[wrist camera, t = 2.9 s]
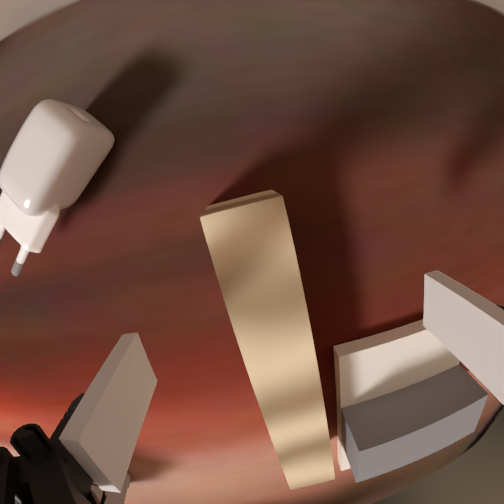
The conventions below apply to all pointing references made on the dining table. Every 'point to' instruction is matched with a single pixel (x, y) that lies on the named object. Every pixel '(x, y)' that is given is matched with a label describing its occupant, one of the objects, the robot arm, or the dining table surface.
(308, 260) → the dining table surface
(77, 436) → the robot arm
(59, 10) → the dining table surface
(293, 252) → the beam
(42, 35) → the dining table surface
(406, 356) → the fulcrum
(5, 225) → the power adapter
